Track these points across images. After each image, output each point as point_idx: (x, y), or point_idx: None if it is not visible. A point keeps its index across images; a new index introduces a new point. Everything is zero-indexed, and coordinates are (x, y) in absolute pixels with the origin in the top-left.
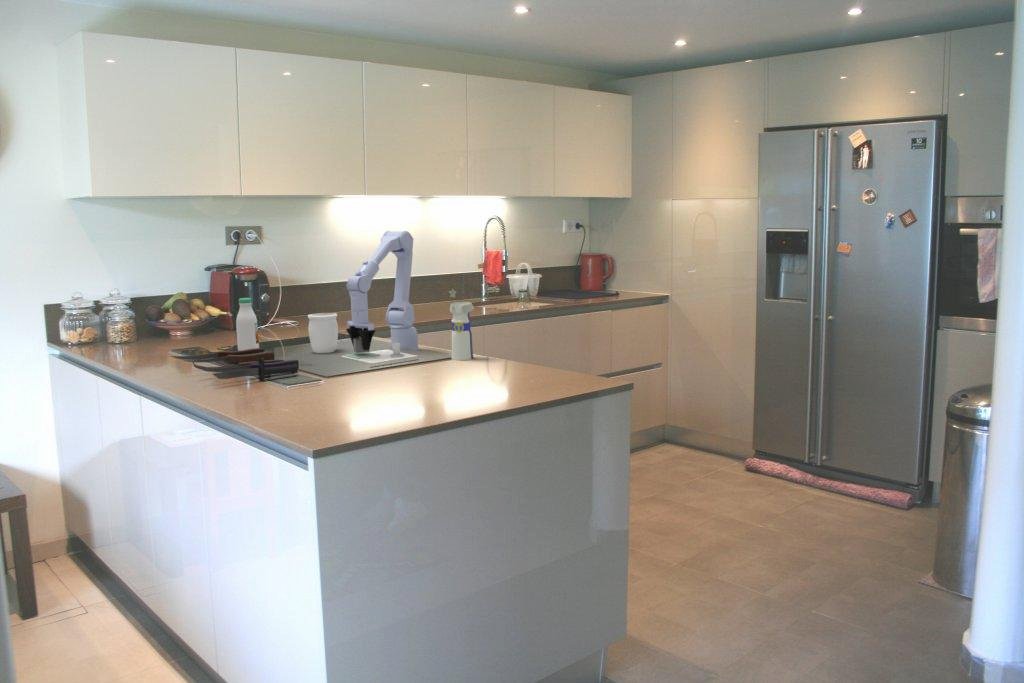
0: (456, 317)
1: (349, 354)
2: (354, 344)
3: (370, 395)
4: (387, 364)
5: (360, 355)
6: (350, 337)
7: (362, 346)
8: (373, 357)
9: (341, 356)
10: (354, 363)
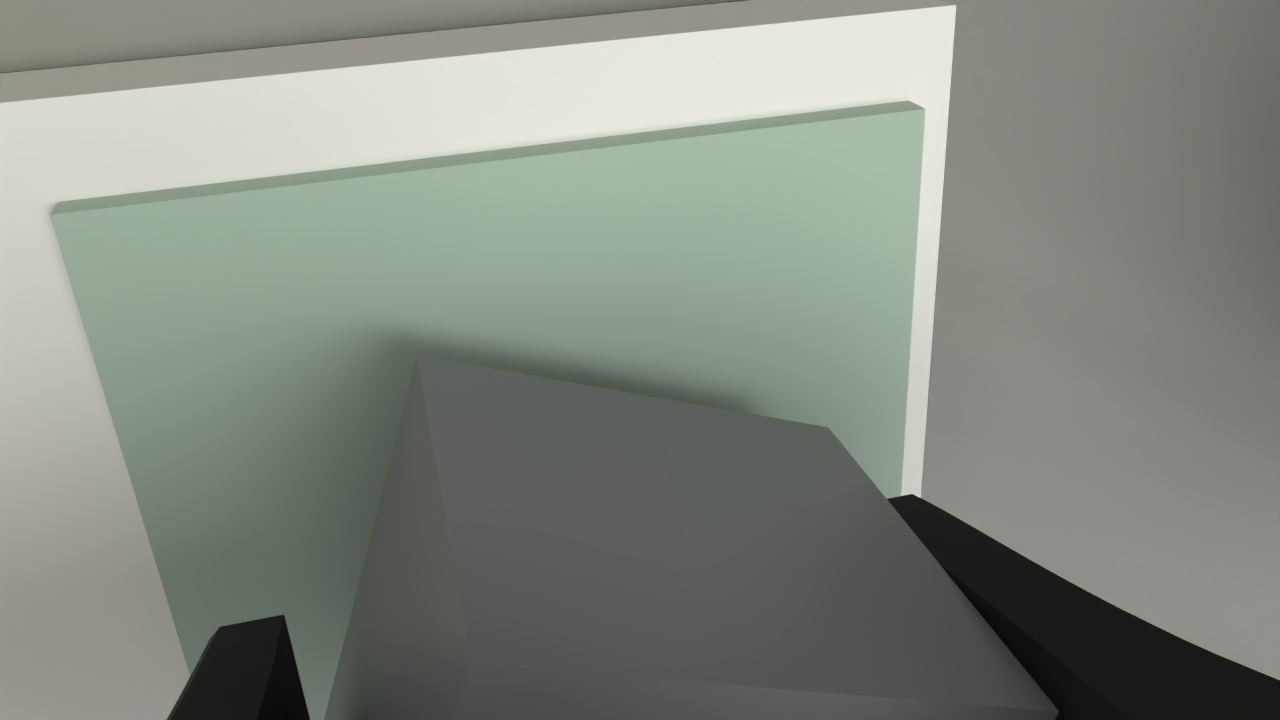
0: None
1: (851, 268)
2: (722, 537)
3: None
4: None
5: None
6: (1222, 664)
7: (376, 689)
8: (62, 664)
9: (908, 9)
10: None
